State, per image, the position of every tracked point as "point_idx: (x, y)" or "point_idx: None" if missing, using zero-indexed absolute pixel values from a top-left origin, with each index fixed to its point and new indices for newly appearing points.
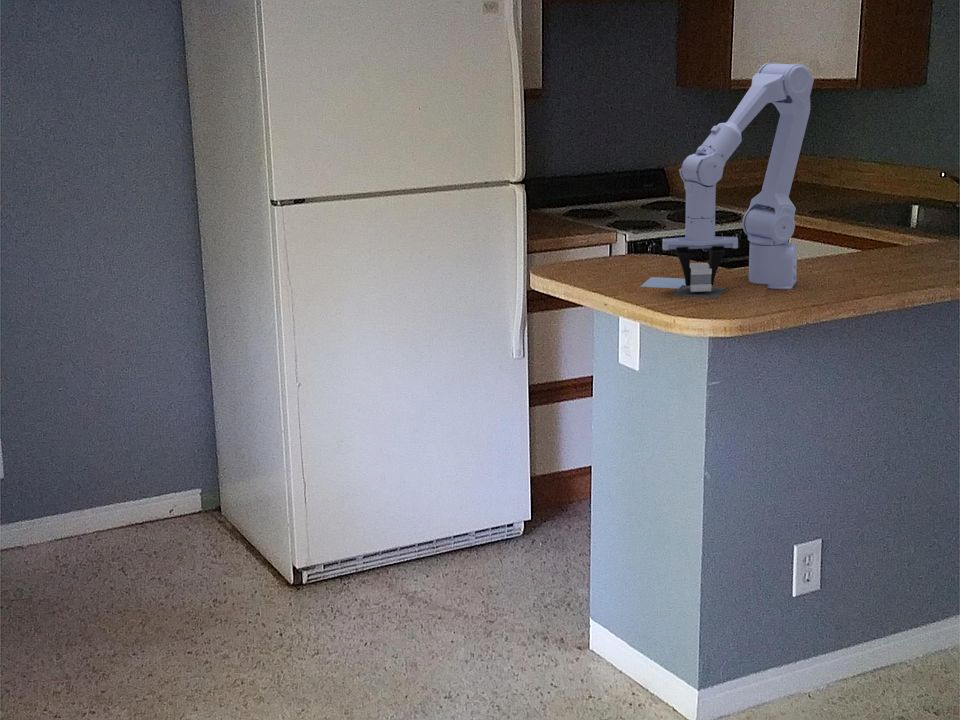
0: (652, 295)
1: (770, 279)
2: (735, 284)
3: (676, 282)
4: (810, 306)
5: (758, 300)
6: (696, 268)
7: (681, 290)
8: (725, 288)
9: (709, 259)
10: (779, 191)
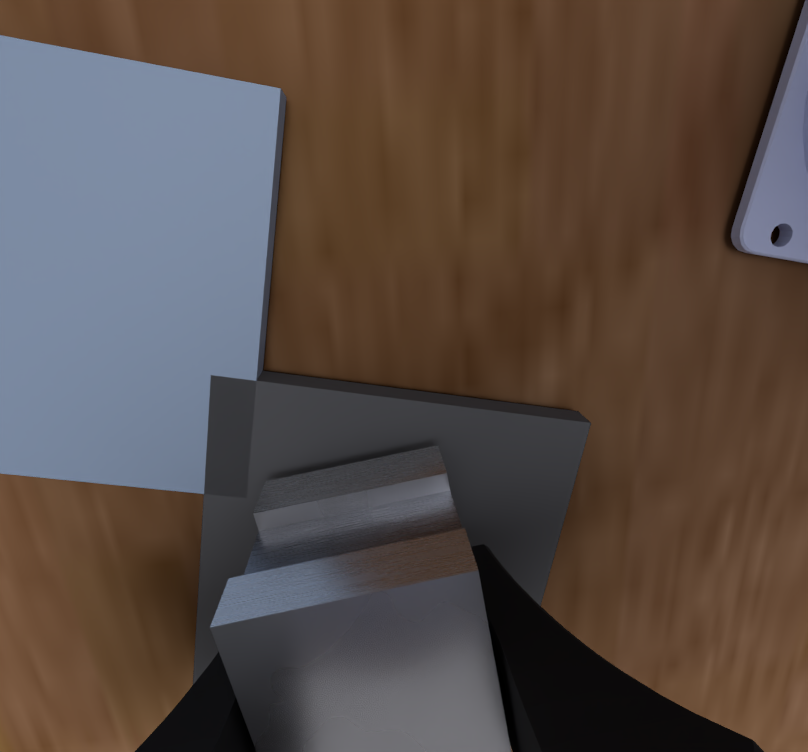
0: (27, 548)
1: None
2: (672, 94)
3: (131, 263)
4: None
5: (760, 589)
6: None
7: (238, 550)
8: (580, 453)
9: (521, 708)
10: None
